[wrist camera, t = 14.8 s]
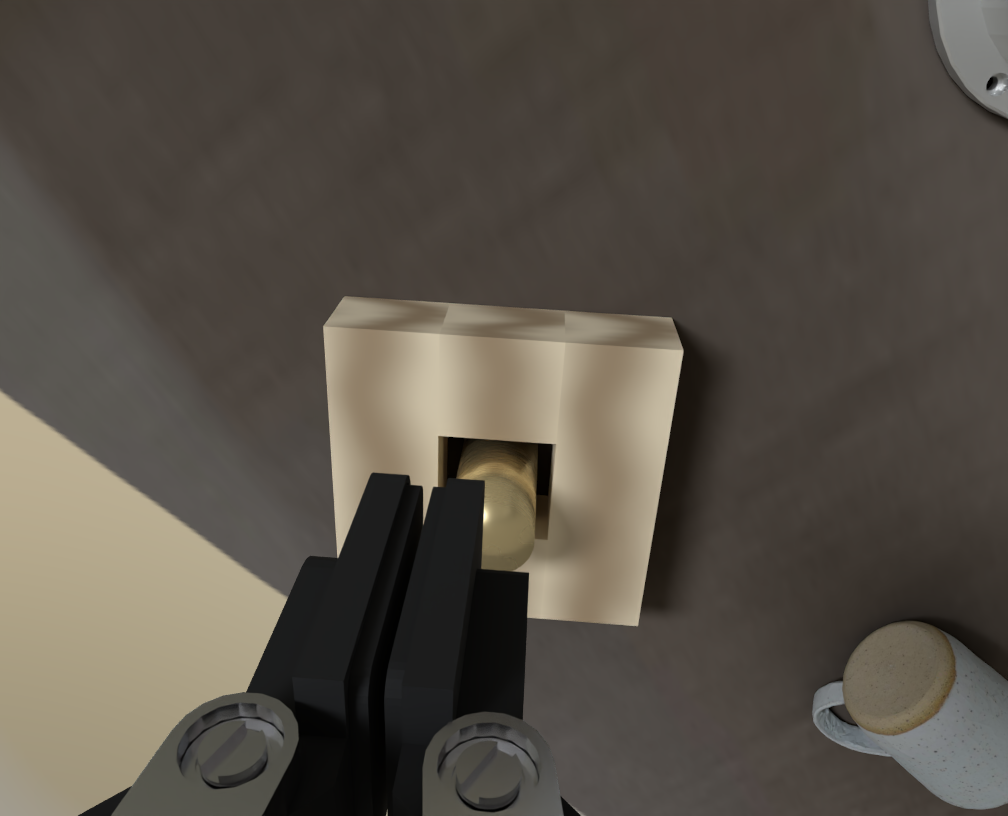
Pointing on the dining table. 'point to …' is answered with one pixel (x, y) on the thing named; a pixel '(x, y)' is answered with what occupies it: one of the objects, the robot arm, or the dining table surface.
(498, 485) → the brass pin
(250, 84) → the dining table surface
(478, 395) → the block
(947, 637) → the ceramic mug
